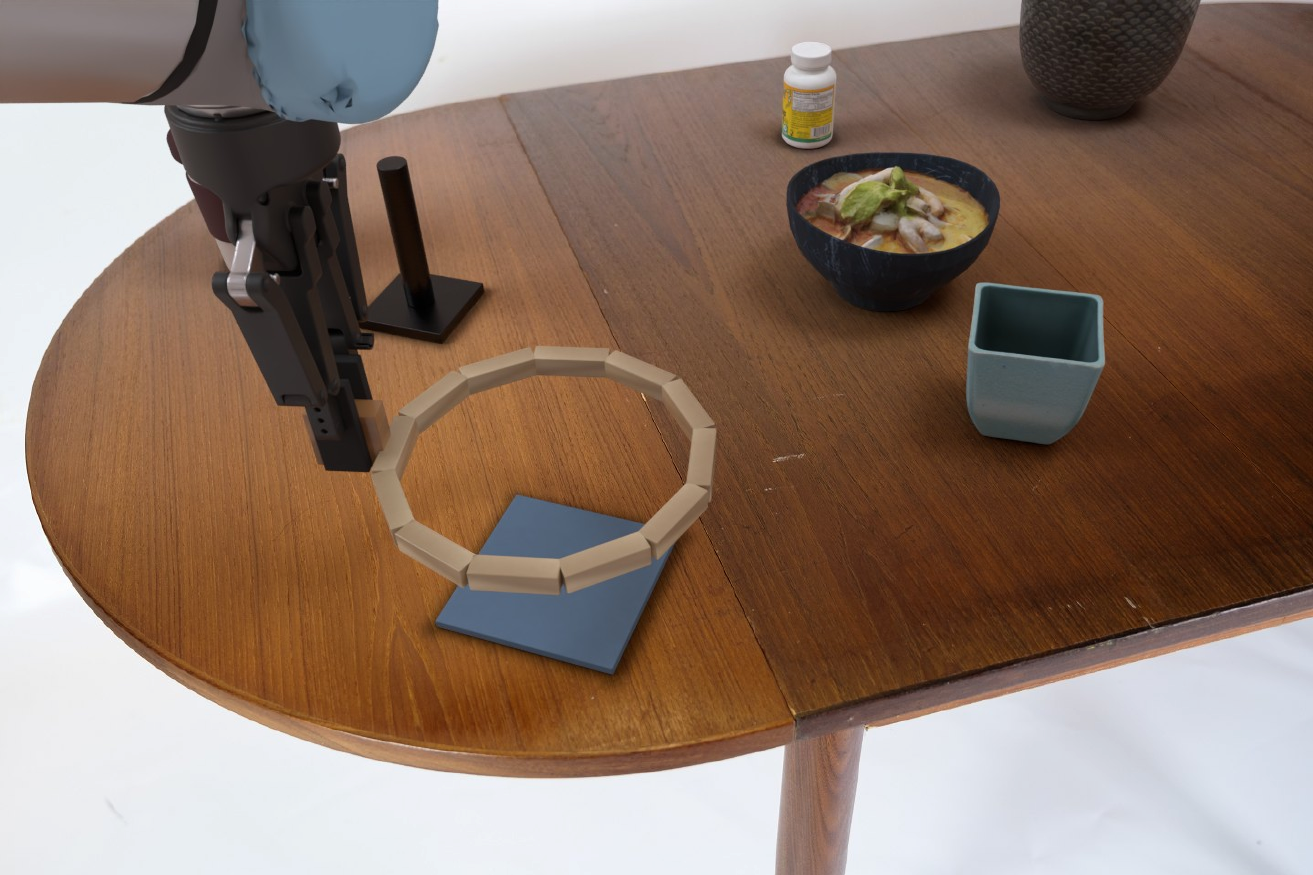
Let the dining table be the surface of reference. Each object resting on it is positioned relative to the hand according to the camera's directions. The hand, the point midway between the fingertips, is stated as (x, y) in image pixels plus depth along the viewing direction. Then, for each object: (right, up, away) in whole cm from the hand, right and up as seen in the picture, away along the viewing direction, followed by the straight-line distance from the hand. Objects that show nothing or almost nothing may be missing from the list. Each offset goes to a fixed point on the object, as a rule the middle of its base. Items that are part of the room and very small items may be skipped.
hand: (354, 453), depth 68 cm
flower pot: (+45, +2, +16) cm, 48 cm away
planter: (+65, +37, +55) cm, 93 cm away
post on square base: (-2, +12, +30) cm, 32 cm away
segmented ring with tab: (+10, -1, -1) cm, 10 cm away
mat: (+12, -8, +5) cm, 16 cm away
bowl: (+38, +14, +30) cm, 50 cm away
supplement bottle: (+34, +32, +51) cm, 69 cm away
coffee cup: (-18, +17, +37) cm, 45 cm away
